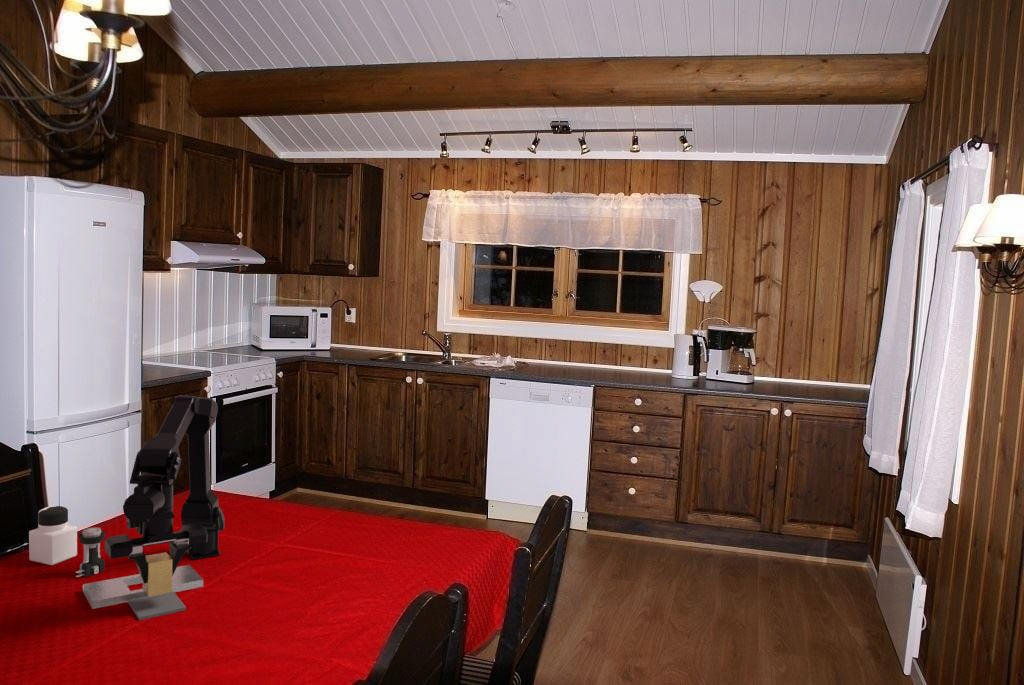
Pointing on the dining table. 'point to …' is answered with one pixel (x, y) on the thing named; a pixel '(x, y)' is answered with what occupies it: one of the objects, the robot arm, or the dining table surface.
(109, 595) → the rail
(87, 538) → the push button
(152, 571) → the brass block
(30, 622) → the dining table surface
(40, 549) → the medicine bottle
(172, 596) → the pad
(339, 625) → the dining table surface
